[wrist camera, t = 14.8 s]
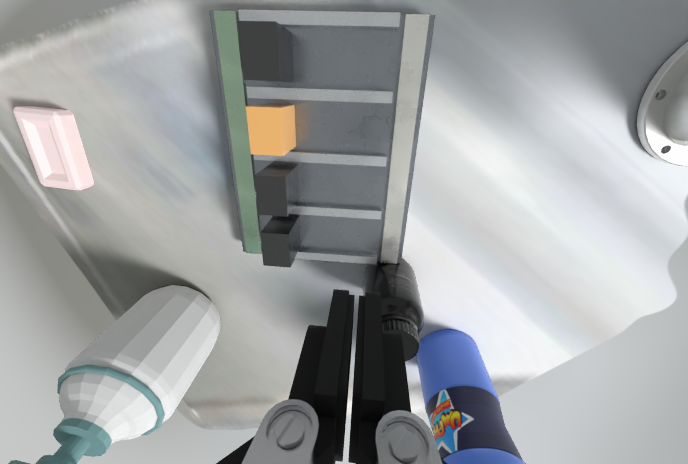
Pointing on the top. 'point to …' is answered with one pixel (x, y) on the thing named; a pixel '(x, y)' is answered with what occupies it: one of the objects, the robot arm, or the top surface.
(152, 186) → the top surface
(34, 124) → the soap bar
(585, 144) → the top surface
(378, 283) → the supplement bottle
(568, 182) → the top surface
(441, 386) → the water bottle
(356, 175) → the breaker panel
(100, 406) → the soap bottle
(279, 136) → the handle
